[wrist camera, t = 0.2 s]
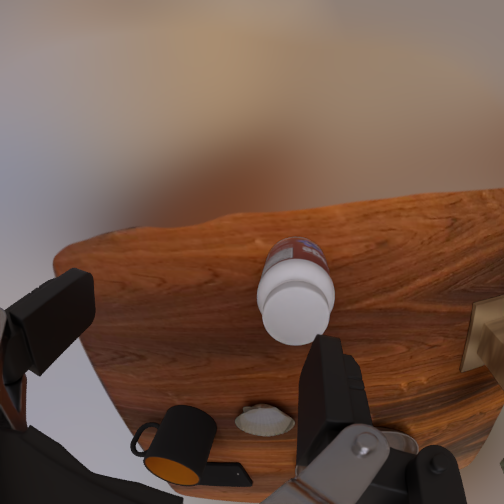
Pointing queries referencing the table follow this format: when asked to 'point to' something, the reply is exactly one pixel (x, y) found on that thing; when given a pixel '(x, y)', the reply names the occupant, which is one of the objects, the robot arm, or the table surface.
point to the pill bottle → (295, 291)
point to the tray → (486, 340)
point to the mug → (179, 445)
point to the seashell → (264, 420)
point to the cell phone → (225, 475)
